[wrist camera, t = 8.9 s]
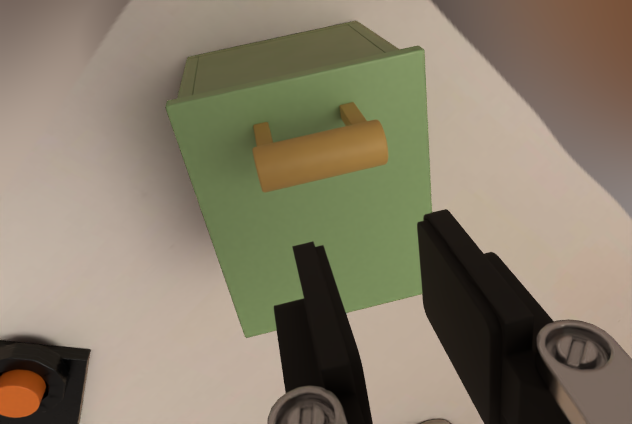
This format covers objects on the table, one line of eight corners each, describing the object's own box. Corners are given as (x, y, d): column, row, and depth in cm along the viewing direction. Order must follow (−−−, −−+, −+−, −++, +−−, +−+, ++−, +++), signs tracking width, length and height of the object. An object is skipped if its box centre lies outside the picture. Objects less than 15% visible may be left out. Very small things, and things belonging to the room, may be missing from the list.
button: (-3, 366, 39) (-11, 383, 38) (47, 371, 40) (41, 388, 39) (-4, 398, 41) (-13, 416, 39) (44, 402, 42) (37, 419, 41)
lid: (165, 100, 22) (153, 153, 17) (418, 44, 23) (472, 80, 18) (244, 329, 30) (250, 408, 25) (431, 282, 30) (471, 351, 26)
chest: (186, 56, 33) (172, 113, 23) (356, 20, 34) (416, 59, 24) (238, 227, 40) (244, 328, 30) (378, 194, 41) (431, 282, 31)
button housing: (-27, 325, 40) (-44, 352, 38) (92, 338, 43) (84, 364, 40) (-30, 462, 48) (-44, 493, 45) (72, 466, 50) (64, 495, 48)
